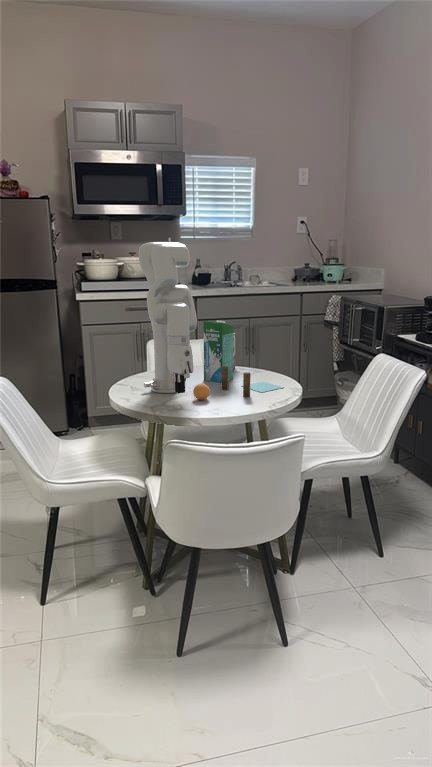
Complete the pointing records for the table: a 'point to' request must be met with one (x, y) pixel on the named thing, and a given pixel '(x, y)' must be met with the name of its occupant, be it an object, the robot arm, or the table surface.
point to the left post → (224, 377)
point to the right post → (246, 384)
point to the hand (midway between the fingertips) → (180, 392)
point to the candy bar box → (233, 351)
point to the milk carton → (217, 350)
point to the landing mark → (264, 387)
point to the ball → (201, 391)
